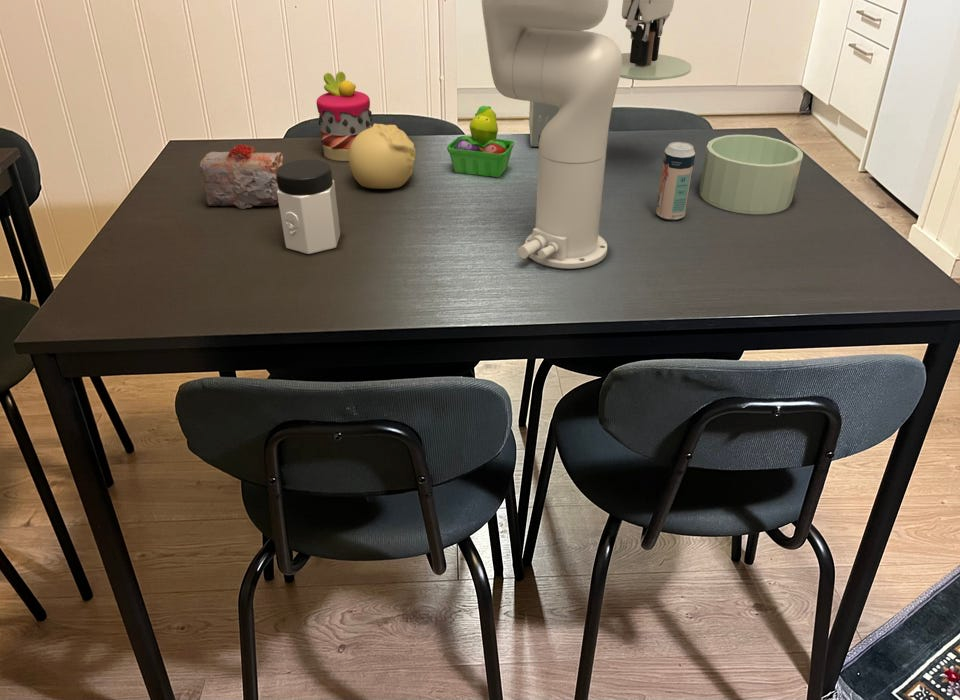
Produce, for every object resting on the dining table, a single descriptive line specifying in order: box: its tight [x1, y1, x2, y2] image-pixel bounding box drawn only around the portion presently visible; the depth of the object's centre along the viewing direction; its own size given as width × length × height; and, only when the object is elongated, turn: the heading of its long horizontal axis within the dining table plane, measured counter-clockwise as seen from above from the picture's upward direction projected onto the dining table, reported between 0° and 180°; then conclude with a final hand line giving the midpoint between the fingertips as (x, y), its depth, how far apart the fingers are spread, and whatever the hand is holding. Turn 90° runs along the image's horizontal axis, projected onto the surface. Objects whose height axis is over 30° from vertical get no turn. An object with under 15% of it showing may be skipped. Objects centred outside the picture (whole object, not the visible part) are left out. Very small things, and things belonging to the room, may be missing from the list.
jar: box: [276, 158, 341, 255], centre depth 115 cm, size 9×8×12 cm
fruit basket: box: [446, 105, 515, 178], centre depth 141 cm, size 11×9×11 cm
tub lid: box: [620, 30, 693, 81], centre depth 132 cm, size 17×17×7 cm
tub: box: [698, 134, 804, 215], centre depth 131 cm, size 16×16×8 cm
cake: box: [316, 71, 373, 162], centre depth 148 cm, size 10×10×15 cm
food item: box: [199, 143, 284, 210], centre depth 129 cm, size 14×8×10 cm, turn 91°
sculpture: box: [348, 123, 417, 190], centre depth 136 cm, size 12×12×11 cm
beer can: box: [655, 141, 696, 221], centre depth 123 cm, size 5×5×12 cm
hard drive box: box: [528, 101, 559, 147], centre depth 155 cm, size 16×8×20 cm, turn 179°
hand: (643, 60), depth 133 cm, fingers closed on tub lid, 2 cm apart
